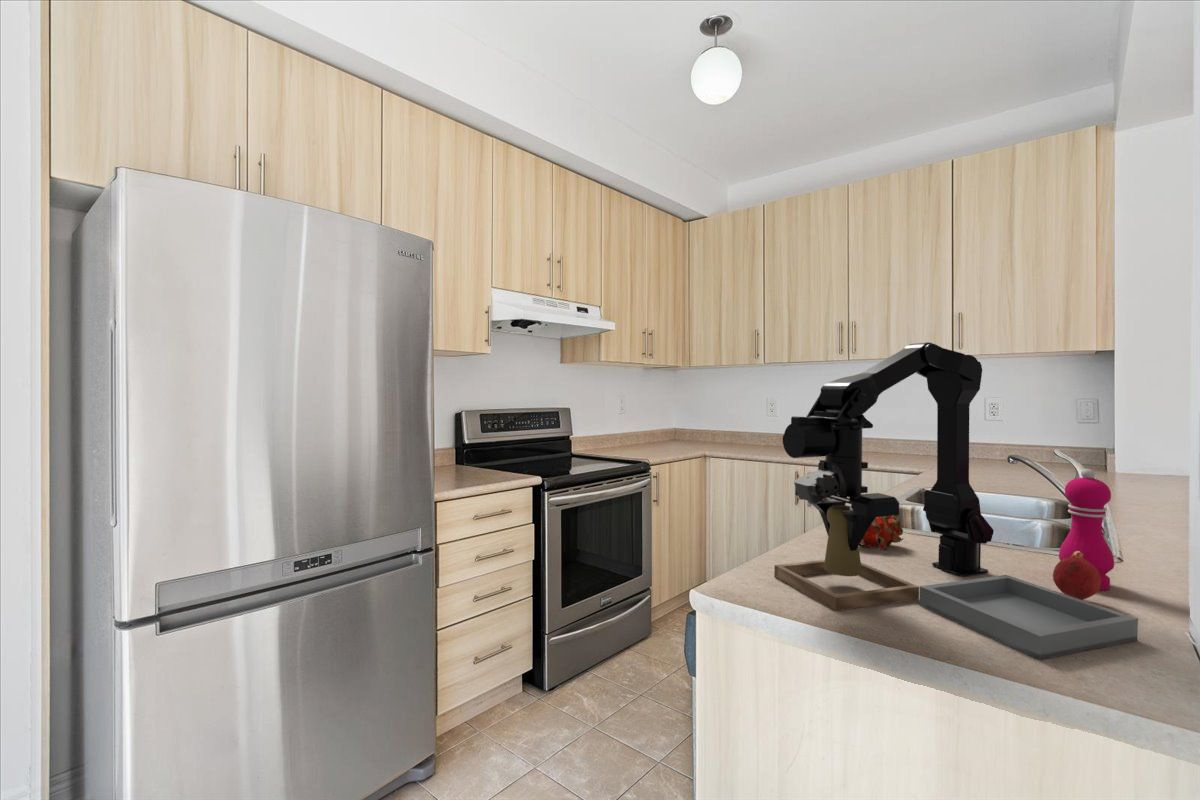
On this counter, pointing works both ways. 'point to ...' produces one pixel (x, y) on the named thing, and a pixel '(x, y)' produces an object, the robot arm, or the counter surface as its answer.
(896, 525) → the dragon fruit
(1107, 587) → the pepper mill
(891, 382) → the robot arm
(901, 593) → the frame
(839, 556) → the olive shaker
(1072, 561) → the pomegranate
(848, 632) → the counter surface
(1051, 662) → the counter surface
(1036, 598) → the gray square tray
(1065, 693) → the counter surface
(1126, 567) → the counter surface
